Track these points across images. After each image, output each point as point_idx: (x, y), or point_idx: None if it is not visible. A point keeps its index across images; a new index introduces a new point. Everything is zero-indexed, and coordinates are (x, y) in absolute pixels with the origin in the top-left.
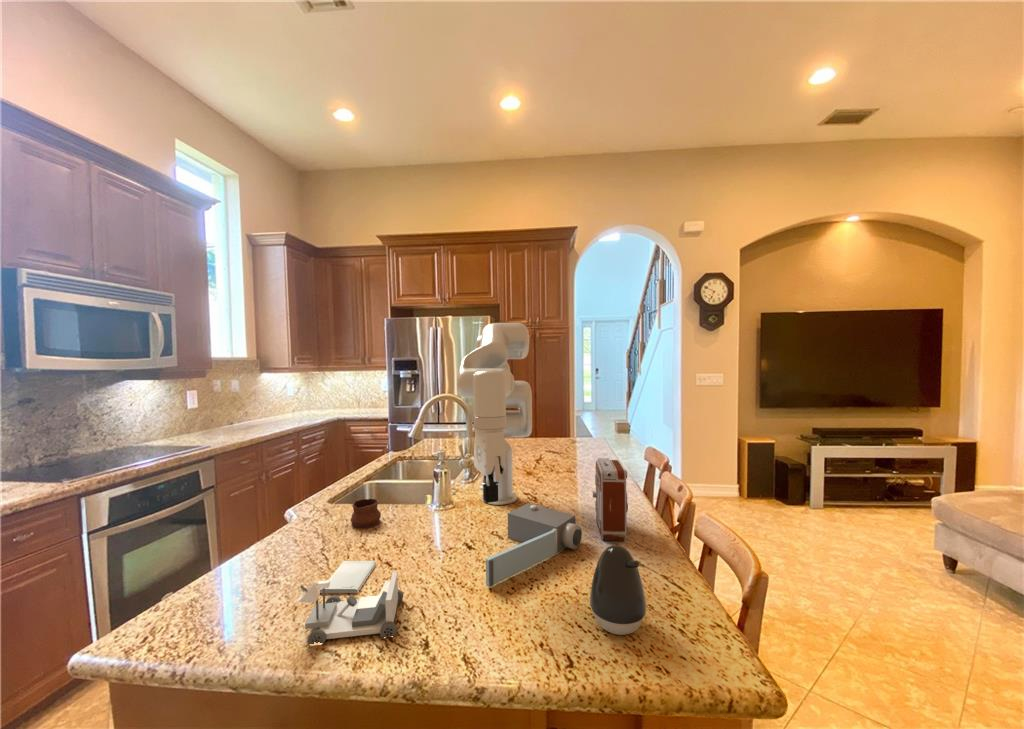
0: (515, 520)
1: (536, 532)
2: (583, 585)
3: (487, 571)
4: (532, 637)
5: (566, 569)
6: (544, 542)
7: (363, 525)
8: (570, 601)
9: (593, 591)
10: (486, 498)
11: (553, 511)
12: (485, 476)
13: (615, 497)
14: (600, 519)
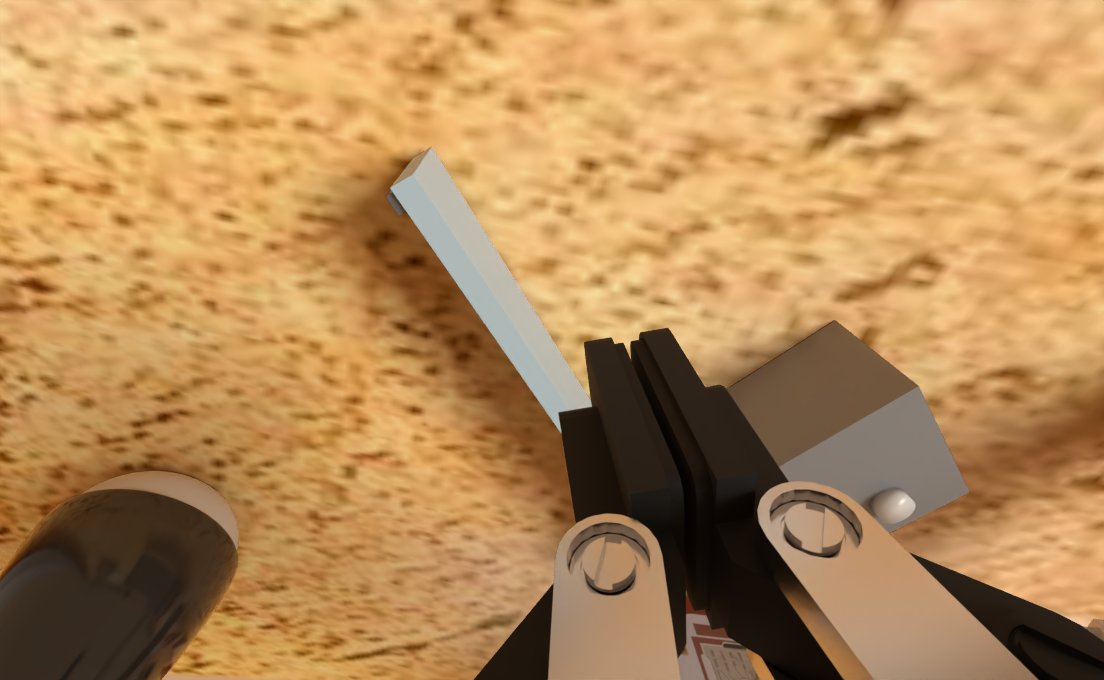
0: (849, 400)
1: None
2: (399, 480)
3: (410, 167)
4: (74, 265)
5: (510, 460)
6: None
7: None
8: (306, 426)
9: (70, 546)
10: (591, 378)
11: None
12: (825, 648)
13: None
14: (681, 656)
